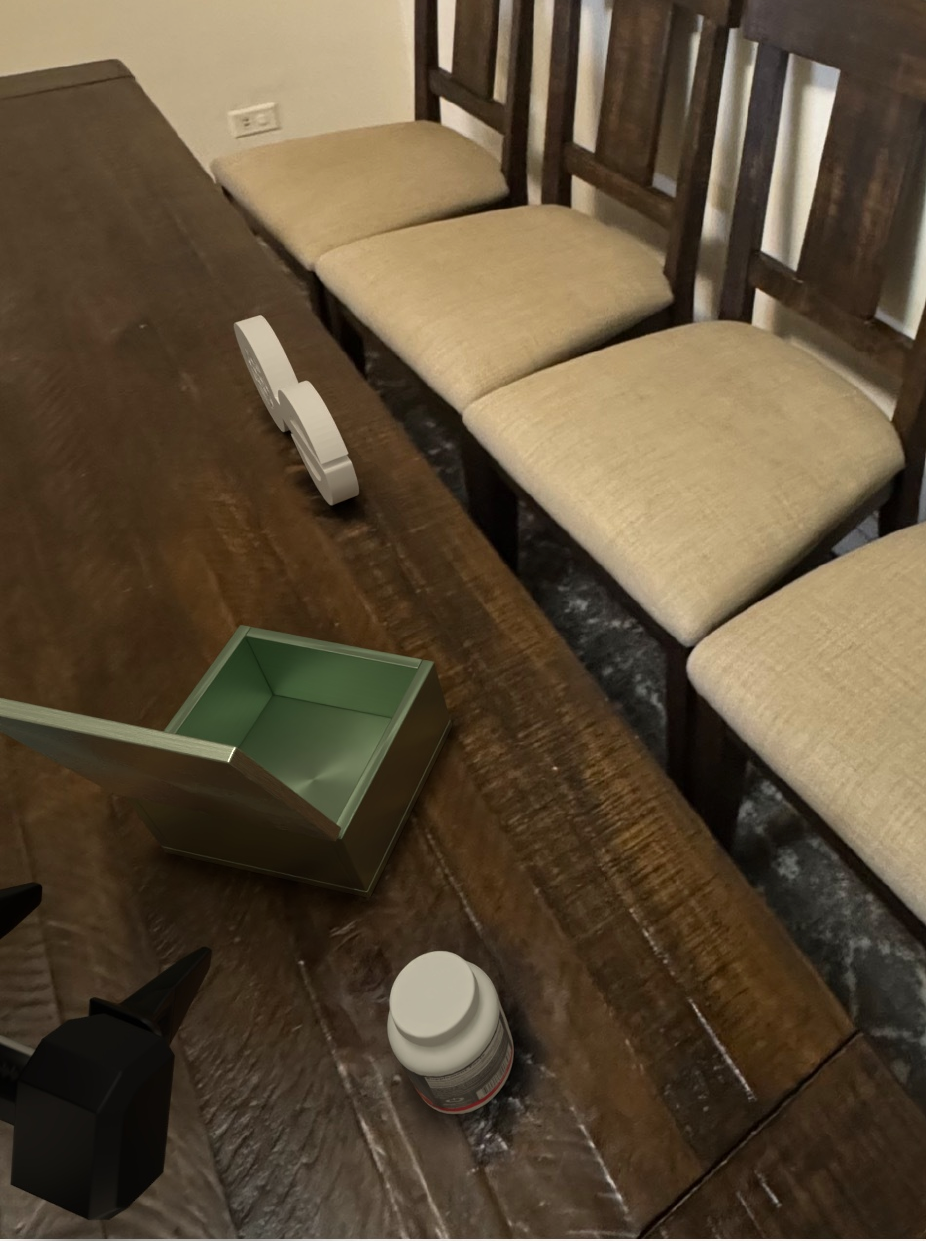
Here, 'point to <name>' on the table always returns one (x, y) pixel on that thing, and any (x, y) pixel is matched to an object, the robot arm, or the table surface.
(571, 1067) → the table surface
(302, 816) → the bin lid
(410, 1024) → the pill bottle
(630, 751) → the table surface
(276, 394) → the letter
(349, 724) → the bin
